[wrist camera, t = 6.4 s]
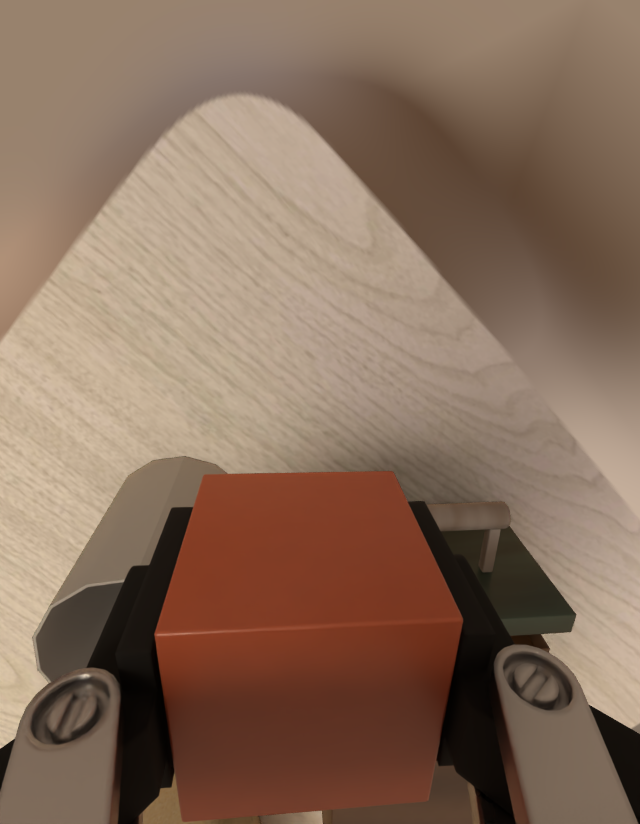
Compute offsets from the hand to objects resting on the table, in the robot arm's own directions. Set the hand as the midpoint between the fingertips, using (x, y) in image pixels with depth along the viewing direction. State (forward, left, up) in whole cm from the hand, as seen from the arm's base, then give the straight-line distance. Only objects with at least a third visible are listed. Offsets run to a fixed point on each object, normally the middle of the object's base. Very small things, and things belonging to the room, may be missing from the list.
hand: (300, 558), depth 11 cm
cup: (+12, +1, -16) cm, 20 cm away
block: (0, 0, 0) cm, 0 cm away
